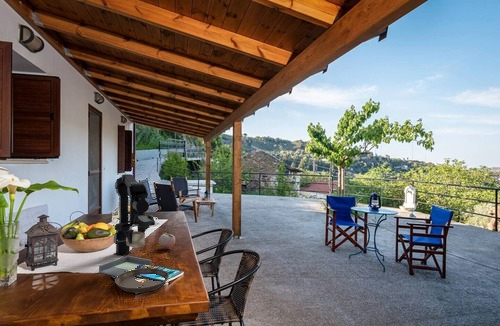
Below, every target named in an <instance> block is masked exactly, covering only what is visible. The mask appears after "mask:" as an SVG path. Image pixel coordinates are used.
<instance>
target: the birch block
mask: <svg viewBox="0 0 500 326" xmlns="http://www.w3.org/2000/svg"><path fill="white" fill-rule="evenodd" d="M145 244H146V232H145V233H143V232H138V230H134V231H133V233H132V244H129V242H128V239H127V237H126V245H127V246H130V247H131V248H135V249H137V248H141V247H144V246H146V245H145Z"/></svg>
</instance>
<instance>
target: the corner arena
mask: <svg viewBox="0 0 500 326" xmlns="http://www.w3.org/2000/svg"><path fill="white" fill-rule="evenodd" d="M141 264H146V265H152V266H153V259H148V258H143V257H136V256H131V255H125V256H123V257H120V258H117V259H115V260H112V261H109V262H106V263H103V264H100V265H99V266H98V267H99V268H98V273H99V274H105V275H109V276H113V277H117V276H119V275H121V274H122V273H125V272H124V271H128V270H132V269H135V268H137V266H139V265H141Z"/></svg>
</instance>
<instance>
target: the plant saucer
mask: <svg viewBox="0 0 500 326" xmlns="http://www.w3.org/2000/svg"><path fill="white" fill-rule="evenodd" d="M140 274H156V275H160V276H162V277H164V278H165V281H163V282H161V281H153V280H149V279H147V280H146V281H144V283H142V282H138V281H136V280H135V279H137V278H136V277H135V276H137V275H140ZM169 278H170V274H169V272H167V271H166V270H163V269H160V268H153V267H149V268H143V269H135V270H131V271H127V272H125V273H122V274H121V275H119V276H118V277H117V276H116V278H115V280H114V282H115V284H116V285H117V287H118V288H119V289H121V290H122V291H124V292H128V293H133V294H134V293H135V294H136V293H137V294H139V293H140V294H141V293H142V294H143V293H147V292H148V293H149V292H151V291H155V290H158V289H160V288H161V287H162V286H163V285H165V283H166V282H167V281H168V279H169ZM142 285H144V286H142ZM137 287H141V288H137Z"/></svg>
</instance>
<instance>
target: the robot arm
mask: <svg viewBox="0 0 500 326" xmlns="http://www.w3.org/2000/svg"><path fill="white" fill-rule="evenodd" d="M114 189H115V192H116V194H117V195H118V197H119V199H118V200H119V203H118V204H119V205H118V206H119V207H118V208H119V211H118V212H119V213H118V214H119V215H118V216H119V218H118V219H119V221H118V222H119V223H118V222H117V223H116V224H115V225H114V230H115V232H114V235H113V238H112V239H113V243H114V244H115V252H114V253H113V255H116V256H120V257H121V256H123V257H124V256H127V255H129V254H132V252H131V250H130V249H131V248H130V246H127V245H126V237H127V239H128V242H129V244H132V233H133V231H135V229H133V228H134V227H135V228H136V227H137V231H138V232H143V233H145V234H146V231H147V230H148V229H150V227H152V226H156V221H155V219H154V216H153V215H148V216H146V215H145V213H147V212H148V210H149V208H150V204H149V202H148V201H147V200H146V199H148V196H149V194H148V190H147V187H146V185H145V184H144V183H143V182H140V181H137V180H136V178H134V175H133V174H131V173H130V174H129V173H127V174H126V173H124V174H122V175H121V176H120V177H119V178H117V179H116V180H115V183H114Z"/></svg>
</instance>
